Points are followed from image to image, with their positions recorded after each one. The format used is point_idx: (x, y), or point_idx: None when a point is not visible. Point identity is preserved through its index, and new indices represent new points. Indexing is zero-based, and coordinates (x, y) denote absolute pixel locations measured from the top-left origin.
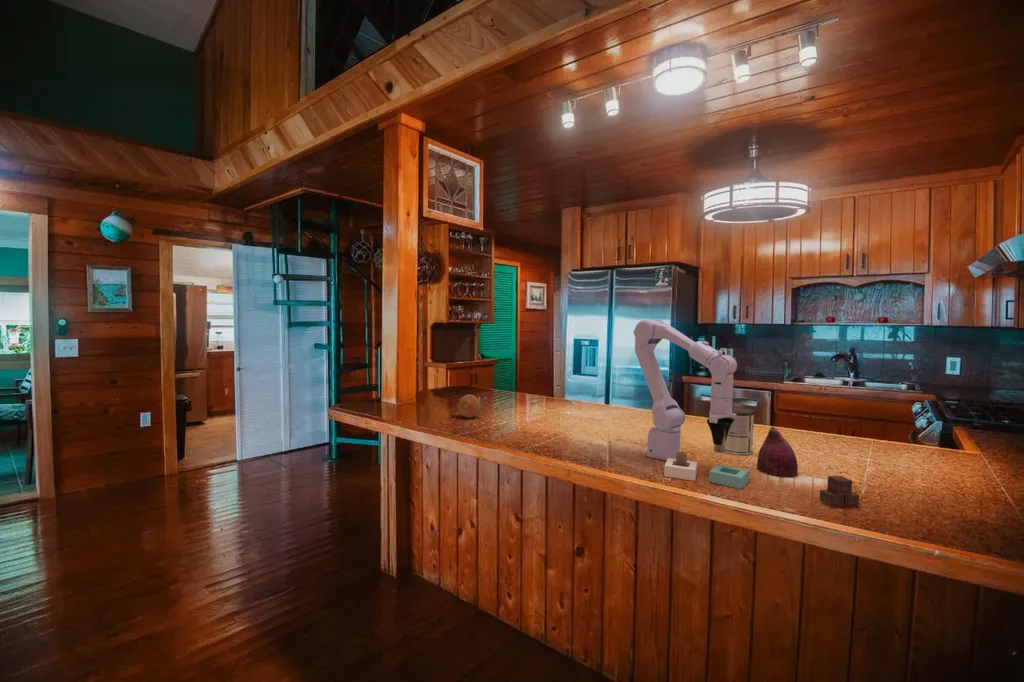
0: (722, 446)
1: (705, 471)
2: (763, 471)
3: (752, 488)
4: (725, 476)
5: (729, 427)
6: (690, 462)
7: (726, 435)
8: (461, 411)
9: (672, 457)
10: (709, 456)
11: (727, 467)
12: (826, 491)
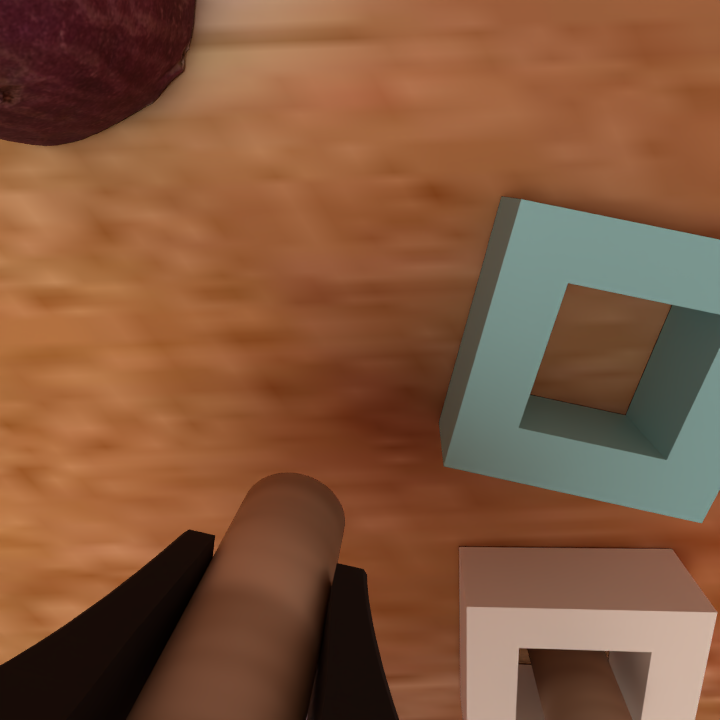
0: (322, 539)
1: (405, 499)
2: (166, 79)
3: (692, 158)
4: None
5: (21, 701)
6: (507, 645)
7: (162, 602)
8: None
9: None
10: (19, 492)
11: (513, 394)
12: None
